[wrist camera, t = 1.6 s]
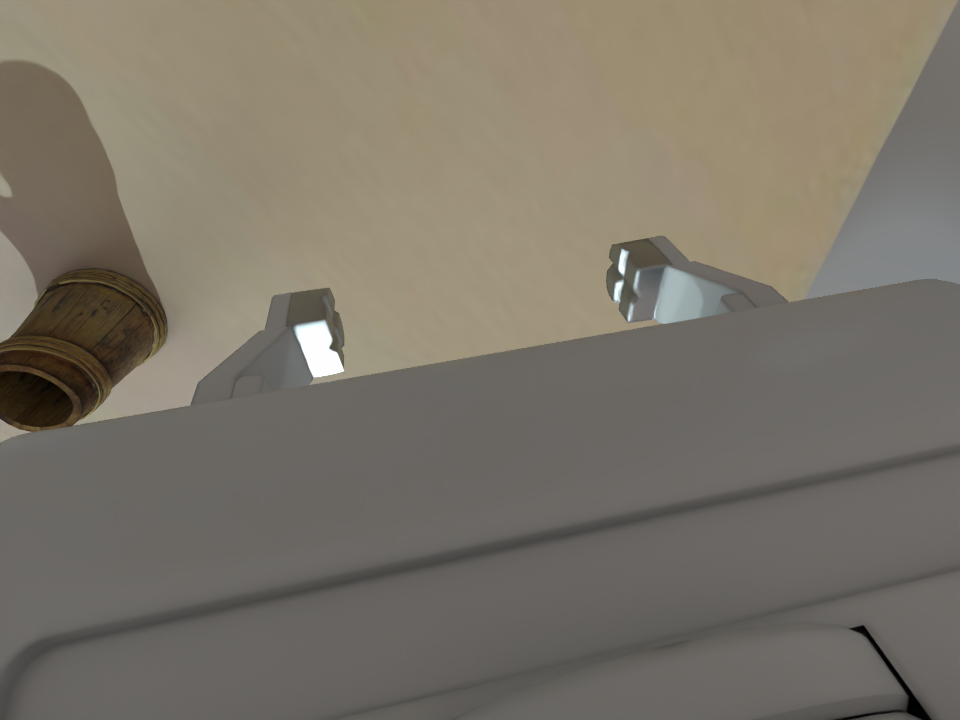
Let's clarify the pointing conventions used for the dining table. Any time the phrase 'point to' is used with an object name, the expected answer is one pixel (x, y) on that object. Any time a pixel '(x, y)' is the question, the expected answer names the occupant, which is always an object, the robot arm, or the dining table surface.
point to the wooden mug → (76, 348)
